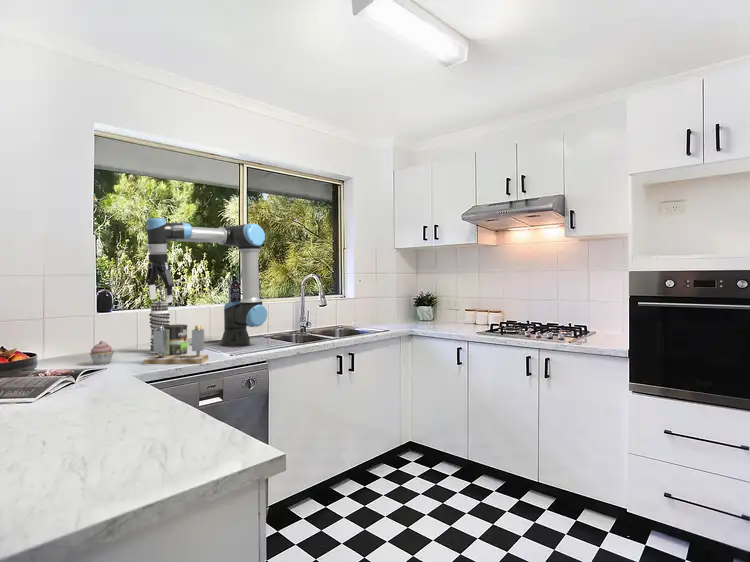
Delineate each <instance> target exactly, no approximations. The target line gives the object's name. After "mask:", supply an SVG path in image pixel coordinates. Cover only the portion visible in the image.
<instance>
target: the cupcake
mask: <svg viewBox="0 0 750 562" xmlns="http://www.w3.org/2000/svg"><path fill="white" fill-rule="evenodd" d="M114 353H115V351H113V349H112V347H111V346H110V345H109V344H108V342H106V341H103V340H100V341H99V343H97V344H95V345H94V346H93V347H92V348H91V350H90V352H89V353H88V354H89V356H90V358H91V360H92V363H93V365H94V364H104V365H106V364H105V363H109V364H110V363H111V361H112V358H113V356H114Z"/></svg>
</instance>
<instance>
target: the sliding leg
mask: <svg viewBox="0 0 750 562" xmlns="http://www.w3.org/2000/svg"><path fill="white" fill-rule="evenodd" d="M204 350H205V329H204V328H202V325H195V326H194V329H192V330H191V351H192V352H195V353H196V354H195V355H196V356H200V355H201V352H203V351H204Z"/></svg>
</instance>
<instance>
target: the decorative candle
mask: <svg viewBox="0 0 750 562" xmlns="http://www.w3.org/2000/svg"><path fill="white" fill-rule="evenodd" d="M170 315H171V314H170V313H169V303H165V300H162V301H161V300H160V301H157V300H156V301H152V303H151V304H150V313H149V314H148V316H149V324H150V325H149V327H150V330H151V332H150V339H149V340H150V341H149V342H150V345H149V346H150V349H149V350H150V354H152V353H158V352H154V347H153V331H155V330H157V327H158V326H163V330H164V326H166V325H170V321H169V320H170V318H171V317H170ZM162 354H164V351H163V352H162Z"/></svg>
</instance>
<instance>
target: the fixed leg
mask: <svg viewBox="0 0 750 562" xmlns="http://www.w3.org/2000/svg"><path fill="white" fill-rule="evenodd" d="M153 347H154V352H158V355H157V356H158V358H162V356H163V353H162V352H163V351H166V350H167V337H166V330H163V326H158V327H157V330H155V331H153Z"/></svg>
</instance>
